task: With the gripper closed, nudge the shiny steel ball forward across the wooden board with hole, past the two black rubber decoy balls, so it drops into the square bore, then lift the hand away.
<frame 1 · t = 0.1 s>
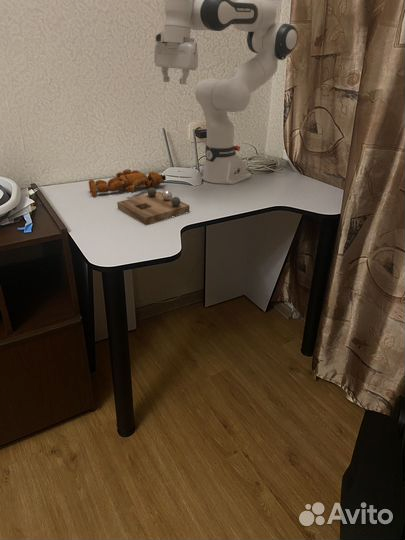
hand: (174, 83, 139), 39 cm above the table, tool pointing down, fingers open, 8 cm apart
wooden board with hole: (153, 210, 139), on the table
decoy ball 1: (151, 192, 143), point 4 cm above the table, touching wooden board with hole
toy: (129, 191, 157), on the table
steel ball: (166, 195, 140), point 4 cm above the table, touching wooden board with hole
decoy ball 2: (175, 201, 135), point 4 cm above the table, touching wooden board with hole
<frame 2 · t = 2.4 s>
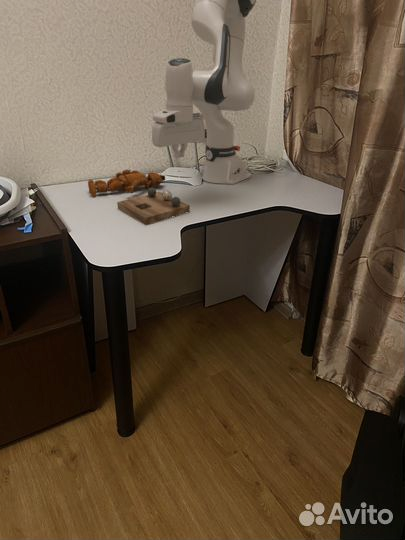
hand: (179, 157, 137), 17 cm above the table, tool pointing down, fingers closed
nothing on the table moved.
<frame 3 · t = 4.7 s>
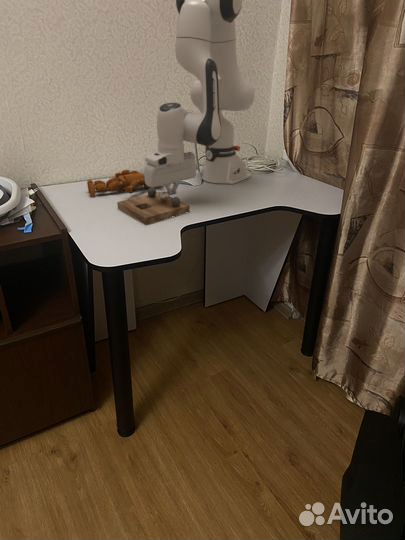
hand: (171, 194, 141), 4 cm above the table, tool pointing down, fingers closed
steel ball: (164, 196, 139), point 4 cm above the table, tilted 39°, touching wooden board with hole, gripper
everything else where it was.
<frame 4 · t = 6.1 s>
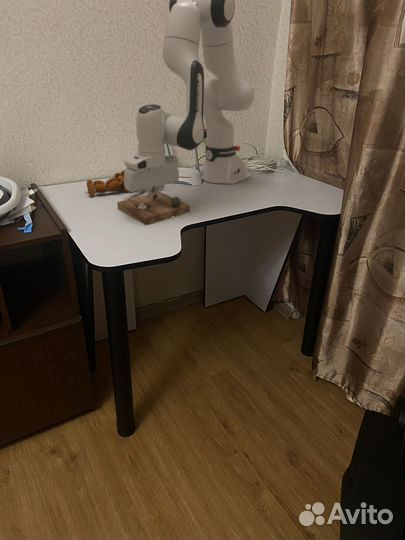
hand: (153, 198, 136), 4 cm above the table, tool pointing down, fingers closed
steel ball: (142, 208, 135), point 2 cm above the table, tilted 34°
everything else where it was.
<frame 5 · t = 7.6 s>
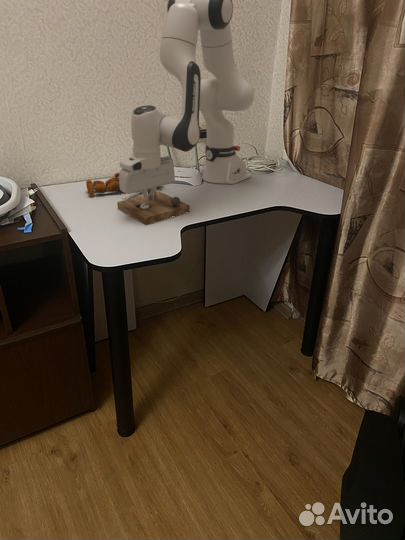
hand: (149, 200, 136), 4 cm above the table, tool pointing down, fingers closed
steel ball: (144, 208, 136), point 2 cm above the table, tilted 6°
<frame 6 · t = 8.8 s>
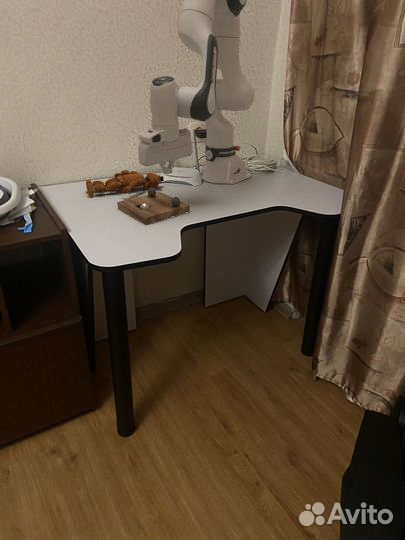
hand: (167, 173, 137), 12 cm above the table, tool pointing down, fingers closed
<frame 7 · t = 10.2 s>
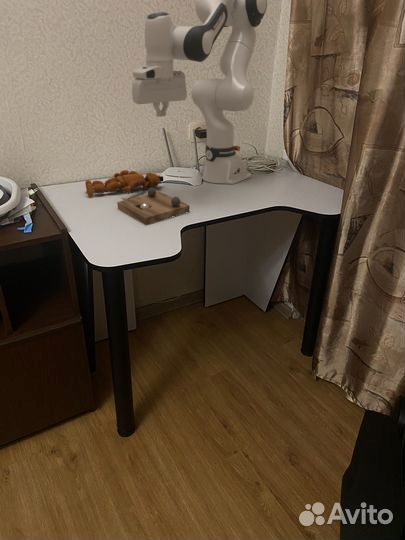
hand: (161, 116, 136), 29 cm above the table, tool pointing down, fingers closed
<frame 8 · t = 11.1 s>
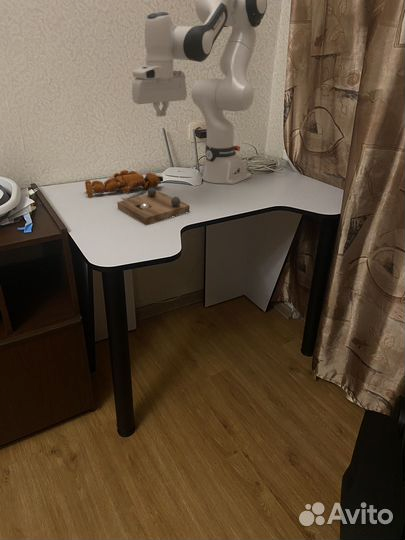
hand: (161, 116, 136), 29 cm above the table, tool pointing down, fingers closed
at the end: steel ball 0.4 cm from the target spot in the wooden board with hole, point 1.7 cm above the wooden board with hole's base; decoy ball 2 moved 0.0 cm from its start; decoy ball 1 moved 0.0 cm from its start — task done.
